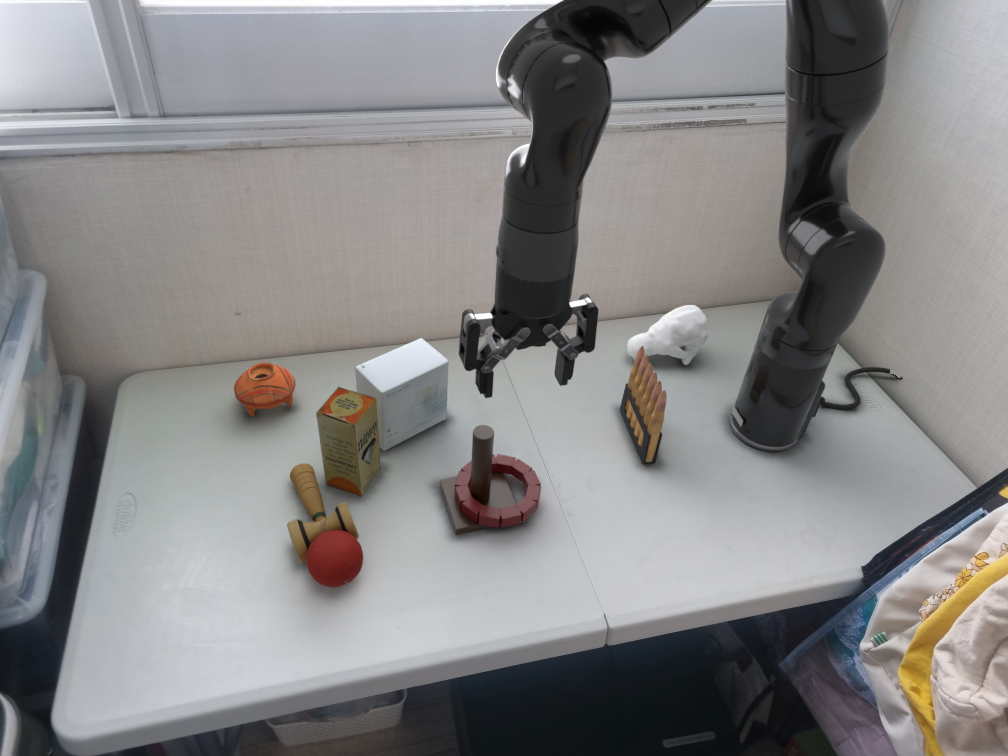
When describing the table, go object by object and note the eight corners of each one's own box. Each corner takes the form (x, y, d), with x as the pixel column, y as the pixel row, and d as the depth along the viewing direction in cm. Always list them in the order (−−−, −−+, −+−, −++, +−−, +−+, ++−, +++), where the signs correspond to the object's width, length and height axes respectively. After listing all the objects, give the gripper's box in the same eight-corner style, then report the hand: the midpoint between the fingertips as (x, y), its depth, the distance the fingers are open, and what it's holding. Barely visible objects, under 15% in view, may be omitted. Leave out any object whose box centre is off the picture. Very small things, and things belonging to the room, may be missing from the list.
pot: (274, 432, 100) (256, 391, 96) (234, 420, 104) (215, 380, 100) (315, 396, 105) (299, 356, 101) (274, 387, 109) (258, 347, 105)
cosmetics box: (385, 453, 99) (381, 392, 92) (357, 426, 102) (352, 365, 96) (449, 419, 104) (450, 359, 98) (421, 394, 108) (420, 335, 101)
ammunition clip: (655, 463, 100) (674, 394, 93) (642, 464, 100) (659, 396, 92) (631, 408, 108) (647, 341, 101) (619, 409, 108) (633, 342, 100)
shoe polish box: (325, 484, 94) (316, 412, 86) (345, 457, 98) (338, 386, 90) (361, 496, 93) (355, 425, 85) (380, 469, 97) (376, 398, 89)
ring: (522, 456, 98) (523, 448, 97) (551, 516, 91) (552, 507, 90) (445, 472, 96) (445, 463, 95) (469, 535, 88) (469, 526, 87)
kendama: (266, 501, 93) (303, 606, 80) (267, 458, 90) (305, 560, 77) (329, 491, 97) (374, 590, 83) (332, 450, 94) (379, 545, 80)
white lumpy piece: (716, 317, 111) (639, 334, 109) (707, 362, 117) (634, 378, 115) (696, 293, 116) (622, 308, 114) (689, 338, 121) (618, 353, 119)
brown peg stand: (501, 473, 97) (506, 403, 90) (520, 521, 92) (528, 450, 84) (439, 485, 95) (440, 414, 88) (456, 535, 89) (458, 463, 82)
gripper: (474, 288, 68) (469, 421, 79) (621, 269, 72) (597, 398, 82) (453, 245, 73) (451, 375, 84) (590, 230, 77) (572, 356, 88)
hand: (524, 386), depth 83 cm, fingers open, 8 cm apart
